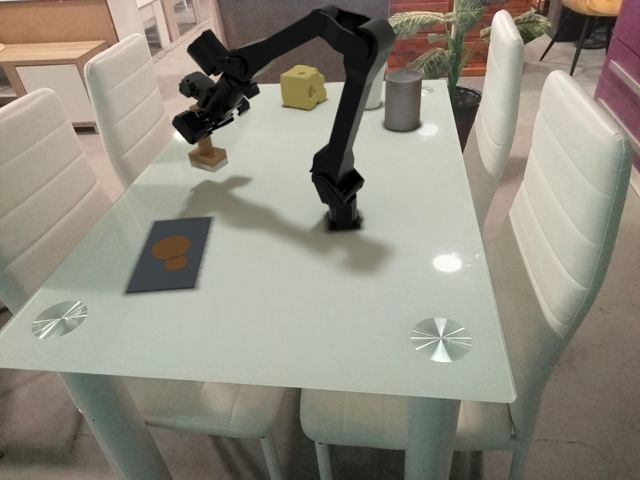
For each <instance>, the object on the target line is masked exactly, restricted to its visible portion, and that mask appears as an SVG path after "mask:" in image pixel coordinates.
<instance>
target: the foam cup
mask: <svg viewBox="0 0 640 480" xmlns="http://www.w3.org/2000/svg"><path fill="white" fill-rule="evenodd" d="M386 63H387V61H386V62H385V64H384V65H383V67H382V68H381V70H380V71H379V73H378V74H377V76H376V77H375V79H374V81H373V84H372V87H371V90H370V93H369V96H368V100H367V103H366V106H365V109H368V110H373V109H376V108H379V107H380V106H381V102H382V101H381V100H382V93H383V86H384V80H385V79H384V78H385V72H386V69H387V68H386ZM365 109H364V110H365Z"/></svg>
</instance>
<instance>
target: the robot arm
mask: <svg viewBox="0 0 640 480" xmlns="http://www.w3.org/2000/svg"><path fill="white" fill-rule="evenodd" d="M318 37H319V38H321V39H323V40H324V41H325V43H327V45H329V47H330V48H331V49H332V50H334V51H335V52H337V53H339V54H341V55H342V65H343V71H344V74H345V79H344V83H343V87H342V90H341V94H340V98H339V102H338V105H337V110H336V113H335V117H334V121H333V124H332V128H331V132H330V136H329V140H328V142H327V143H326V144H325V145H324V146H322V147H321V148H320V149H319V150H318V151H317V152H315V153H314V154H313V157H312V165H311V167H310V168H309V171H308V173H311V175H310V180H311V183H313V185H314V187H315V190H316V192H317V195H318V197H319V200H320V202H321V203H322V204H325V205H326V206H327V207H328V211H326V218H327V228H328V231H343V230H355V229H356V230H357V229H361V227H362V226H361V225H362V223H361V219H360V215H359V209H358V194H357V193H358V192H359V191H360V190H361V189H362V188H363V187H364V184H365V182H366V181H365V177H363V176H362V175H361V173H359V171H358V170H357V169H356V168H355V154H354V151H353V148H354V145H355V142H356V138H357V136H358V131H359V128H360V125H361V122H362V118H363V116H364V112H365V106H366V103H367V100H368V96H369V93H370V90H371V87H372V84H373V81H374V79H375V77H376V76H377V74H378V73H379V71H380V70H381V68H382V67H383V65H384V64H385V62H386V63H387V61H388V59H389V57H390V55H391V53H392V51H393V50H394V48H395V45H396V41H397V35H396V32H395V30H394V27H393V26H392V24H391V23H390V22H389V21H387V20H386V19H385V18H381V17H375V18H374V17H370V16H369V15H366V14H364V13H359V12H355V11H352V10H348V9H344V8H342V7H340V6H337V4H336V5H335V4H333V3H325V4H323V5H321V6H319V7H316V8H314V9H312V10H311V11H310V12H309V14H307V15H305V16H303V17H302V18H300V19H298V20H296V21H294V22H292V23H291V24H290V25H288V26H286V27H284V28H283V29H280V30H279V31H277V32H276V33H273V34H272V35H270V36H267V37H262V38H259V39H256V40H253V41H250V42H248V43H246V44H244V45H241V46H239V47H234V48H232V49H230V50H228V48H227V47H226V46H225V45H224V44H223V42H221V41H220V39H219V38H218V37H217V35H216V34H215V33H214V31H213V29H211V28H208V29H205V30H203V31H202V32H201V33H200V35H199V36H197V37H196V38H195V39H194V40H193V41H192V42H191V43H190V44H188V46H187V48H186V53H187V54H188V56H189V57H191V59H192V60H193V61H194V63H195V64H196V65H197V66H198V67H199V68H200V69H201V71H199V70H197V71H193V72H191V73H189V74H187V75H185V76H184V77H183V78H182V79H181V80H180V82H179V83H178V92H179V94H180V95H182V96H184V97H185V98H187V99H191V98H192V99H194V100H196V103H195V104H196V105H197V106H198V107H199V108H202V109H203V110H201V111H199V112H197V113H195V112H194V111H193V112H192V111H190V110H189V109H186V110H183V111H182V112H180V113H178V114H176V115H174V117H173V119H172V121H171V126H172V127H173V128H174V129H175V130H176V131H177V132H178V133H179V134H180V135H181V137H182V138H183V139H184V140H185V141H186V142H187V143H188V144H189V145H190V146H191V145H192V146H194V145H196V144H197V142H199V141H201V140H202V139H204V138H206V137H208V136H210V135H213V134H214V131H217V130H219V129H221V128H224V127H226V126H228V125H230V124H231V123H233V122H234V121H235V117H234V115H235V114H234V111H235V110H237V111H238V113H236V115H237V116H238V117H239V118H240V117H242V116H244V115H245V114H247V113H248V112H249V111H250V109H251V103H250V102H249V100H251V99H253V98H254V97H256V96H258V95H260V94H261V90H260V87H259V86H258V81H255V80H253V79H254V78H256V77H257V76H259V75H262V74H263V73H265V72H267V71H268V70H269V69H270V68H272V67H273V66H274V65H275V64H276V63H277V62H278V61H279V60H280V58H282V57H283V56H284V55H286V54H288V53H289V52H292V51H294V50H296V49H298V48H299V47H301V46H303V45H305V44H307V43H309V42H311V41H312V40H315V39H316V38H318ZM210 76H213V77H218V76H219V78H218V79H217V81H216V82H215V80H214V79H213V78H211V77H210Z"/></svg>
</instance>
